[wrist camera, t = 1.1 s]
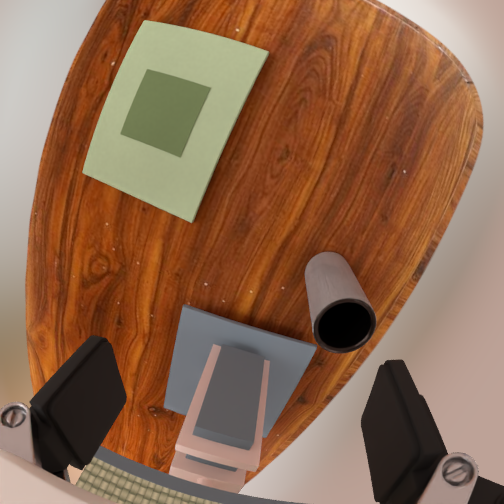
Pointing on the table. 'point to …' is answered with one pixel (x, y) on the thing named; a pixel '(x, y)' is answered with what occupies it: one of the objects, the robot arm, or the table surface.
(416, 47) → the table surface
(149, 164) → the mat
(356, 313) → the gray hollow cylinder
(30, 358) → the table surface
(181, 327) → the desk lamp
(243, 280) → the table surface
